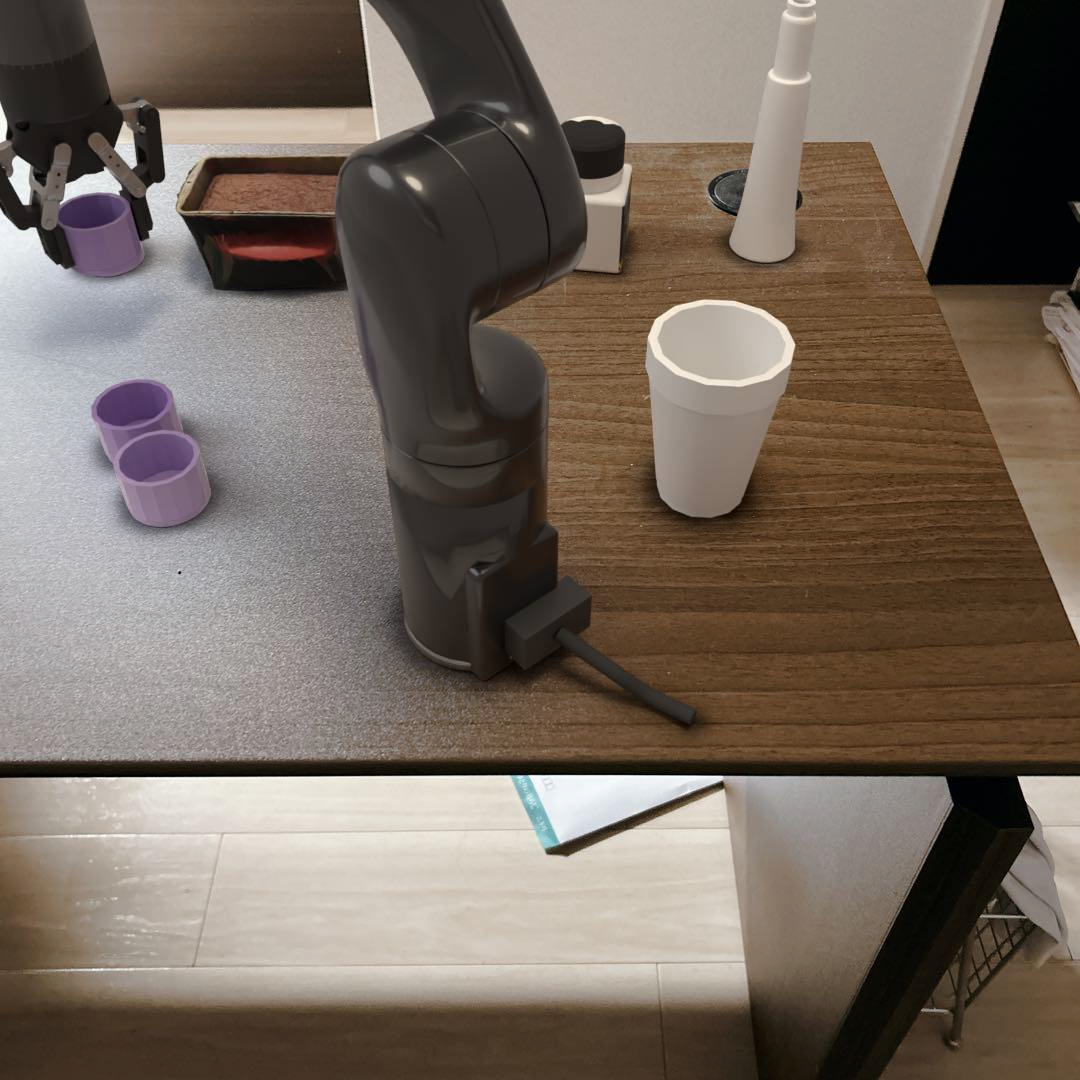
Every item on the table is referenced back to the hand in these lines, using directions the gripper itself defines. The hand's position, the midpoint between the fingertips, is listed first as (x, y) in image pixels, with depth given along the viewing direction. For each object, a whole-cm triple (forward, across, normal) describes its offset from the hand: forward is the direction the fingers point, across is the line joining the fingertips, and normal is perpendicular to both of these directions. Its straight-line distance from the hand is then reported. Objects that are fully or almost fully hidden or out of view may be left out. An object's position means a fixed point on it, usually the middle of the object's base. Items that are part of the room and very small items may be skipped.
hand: (103, 249), depth 90 cm
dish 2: (+7, -6, -15) cm, 18 cm away
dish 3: (+7, -7, -21) cm, 24 cm away
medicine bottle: (+8, +38, -16) cm, 42 cm away
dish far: (+8, +4, +11) cm, 14 cm away
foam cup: (+8, +23, -45) cm, 51 cm away
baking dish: (+8, +17, +1) cm, 18 cm away
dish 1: (+1, 0, 0) cm, 1 cm away
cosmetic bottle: (+8, +51, -26) cm, 58 cm away
